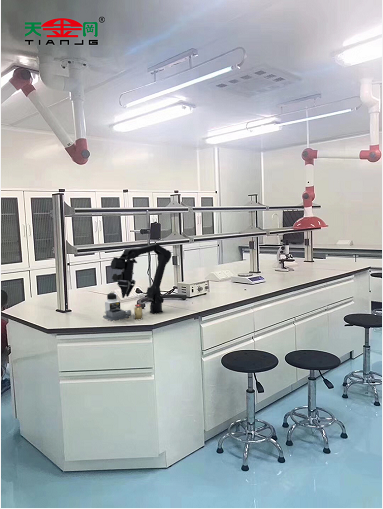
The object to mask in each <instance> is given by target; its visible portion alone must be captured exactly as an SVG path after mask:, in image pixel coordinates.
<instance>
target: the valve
mask: <svg viewBox="0 0 383 509" xmlns="http://www.w3.org/2000/svg"><path fill="white" fill-rule="evenodd" d="M133 309H134V320H136V319H140V320H142V319H143V307H142V304H141V303H140V304H139V303H137V304H134V308H133ZM141 318H142V319H141Z"/></svg>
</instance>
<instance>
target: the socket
mask: <svg viewBox="0 0 383 509" xmlns="http://www.w3.org/2000/svg"><path fill="white" fill-rule="evenodd" d="M131 315H132V310H131V309H127V310H124V309H122V308H120V309H113V310H107V311H106V312H105V314H104V315H103V316H102V318H103V319H105V318H106V319H105V320H107V319H108V320H107V321H110V320H111V321H110V322H114V321H113V320H115V321H119V319H121V320H125V319H124V318H126V319H129V316H131Z"/></svg>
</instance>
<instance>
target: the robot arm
mask: <svg viewBox="0 0 383 509" xmlns="http://www.w3.org/2000/svg"><path fill="white" fill-rule="evenodd" d="M151 252H154V253H155V254H156V256H157V266H156V269H155V274H154V276H153V281H152V284H151V286H147V289H146V292H145V295H146V296H145V297H146V298H147V300H148V302H149V303H150V304H149V313H151V312H152V313H151V314H154V313H156V314H160V313H159V312H161V313H164V312H163V311H164V310H163V303H164V300H165V299H164V298H163V297H162V296H161V292H162V291H161V283H162V281H163V277H164V274H165V270H166V265H167V264H168V263H170V260H171V257H172V252H171V250H168V249H166V248H164V247H163V246H161V245H160V244H159V243H152V244H150V245H149V244H148V245H145V246H141V247H137V248H135V247H134V248H133V247H132V248H131V247H130V248H124V250H123V252H122V254H121V255H120V256H119V257H115V256H113V257H112V259H111V262H110V268H111V269H112V270H119V271H121V270H122V271H121V273H120V274H118V273H114V274H113V275H112V276H111V279H112V282H113V283H114V282H117V284H116V285H117V286H118V287H119V288H120V293H121V298H122V299H125V297H127V298H128V297H129V296H130V294H131V292H132V290H133V289H134V287H135V285H136V280H135V279H133V275H134V264H138V261H137V260H136V258H138V257H139V256H141V255H144V254H148V253H151Z"/></svg>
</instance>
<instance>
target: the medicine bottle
mask: <svg viewBox="0 0 383 509" xmlns="http://www.w3.org/2000/svg"><path fill="white" fill-rule="evenodd" d="M106 296H107V297H106V298H107V299H106V300H105V301H104V307H105V313H106V311H107V310H113V309H121V301H120V300H118V294H117V293H116V292H110V293H107V295H106Z"/></svg>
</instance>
